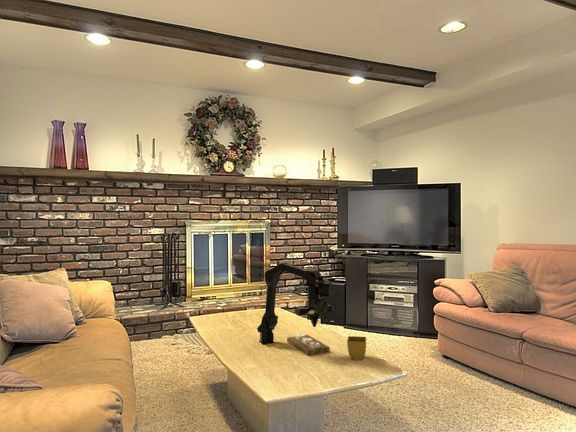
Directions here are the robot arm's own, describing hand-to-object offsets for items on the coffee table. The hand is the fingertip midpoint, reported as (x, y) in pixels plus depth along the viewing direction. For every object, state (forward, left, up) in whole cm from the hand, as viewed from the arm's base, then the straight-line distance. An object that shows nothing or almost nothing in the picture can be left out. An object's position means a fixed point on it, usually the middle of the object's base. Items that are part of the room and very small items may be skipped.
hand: (314, 326), depth 207 cm
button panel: (0, +8, -12) cm, 15 cm away
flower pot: (+13, -18, -12) cm, 26 cm away
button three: (0, 0, -11) cm, 11 cm away
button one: (0, +17, -11) cm, 20 cm away
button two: (0, +8, -11) cm, 14 cm away
